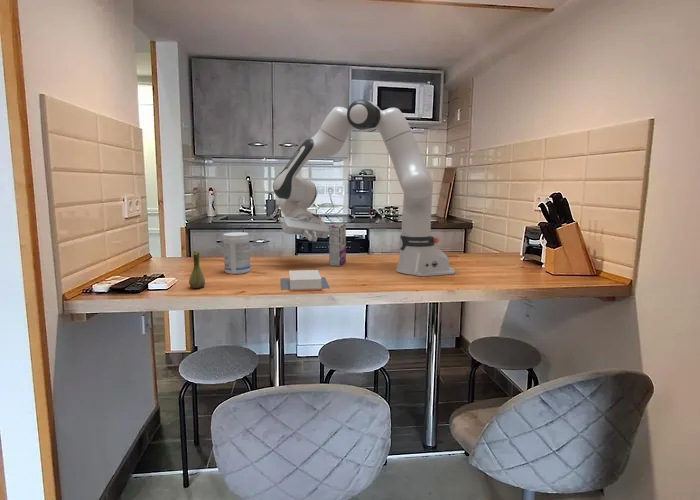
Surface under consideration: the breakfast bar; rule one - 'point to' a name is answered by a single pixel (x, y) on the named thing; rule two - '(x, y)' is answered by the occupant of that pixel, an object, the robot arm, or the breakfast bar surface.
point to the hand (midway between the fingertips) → (313, 239)
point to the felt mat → (286, 285)
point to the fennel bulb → (196, 273)
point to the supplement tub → (236, 252)
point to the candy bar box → (337, 244)
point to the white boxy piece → (305, 280)
